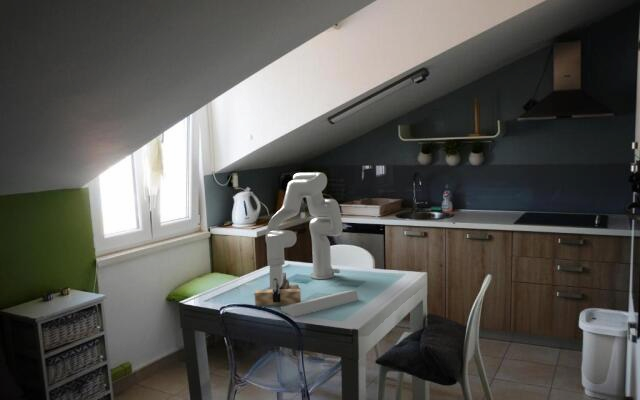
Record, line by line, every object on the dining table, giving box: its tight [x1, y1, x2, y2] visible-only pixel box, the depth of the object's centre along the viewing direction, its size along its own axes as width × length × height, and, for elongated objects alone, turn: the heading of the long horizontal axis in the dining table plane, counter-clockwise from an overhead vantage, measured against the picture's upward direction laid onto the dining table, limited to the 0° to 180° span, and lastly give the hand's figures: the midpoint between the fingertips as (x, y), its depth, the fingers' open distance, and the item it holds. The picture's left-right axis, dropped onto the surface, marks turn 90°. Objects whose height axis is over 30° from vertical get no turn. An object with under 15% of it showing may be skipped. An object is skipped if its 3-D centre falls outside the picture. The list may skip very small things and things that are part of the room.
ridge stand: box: [267, 272, 300, 290], centre depth 249 cm, size 14×16×8 cm
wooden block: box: [254, 288, 302, 306], centre depth 233 cm, size 20×4×6 cm, turn 88°
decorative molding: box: [280, 289, 359, 318], centre depth 227 cm, size 34×5×10 cm
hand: (278, 299), depth 233 cm, fingers open, 8 cm apart
